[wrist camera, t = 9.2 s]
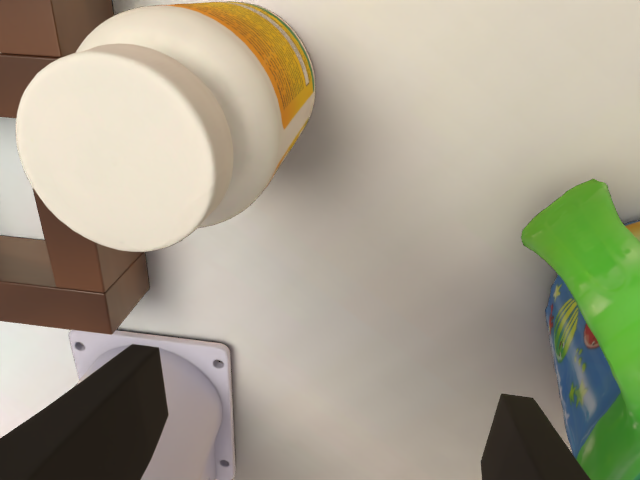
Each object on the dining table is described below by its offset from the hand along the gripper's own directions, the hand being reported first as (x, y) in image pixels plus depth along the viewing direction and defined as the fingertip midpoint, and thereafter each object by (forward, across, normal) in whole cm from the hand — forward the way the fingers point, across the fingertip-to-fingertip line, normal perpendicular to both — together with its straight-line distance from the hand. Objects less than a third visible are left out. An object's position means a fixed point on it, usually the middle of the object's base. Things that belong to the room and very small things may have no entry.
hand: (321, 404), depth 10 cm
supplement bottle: (+11, +4, -4) cm, 12 cm away
